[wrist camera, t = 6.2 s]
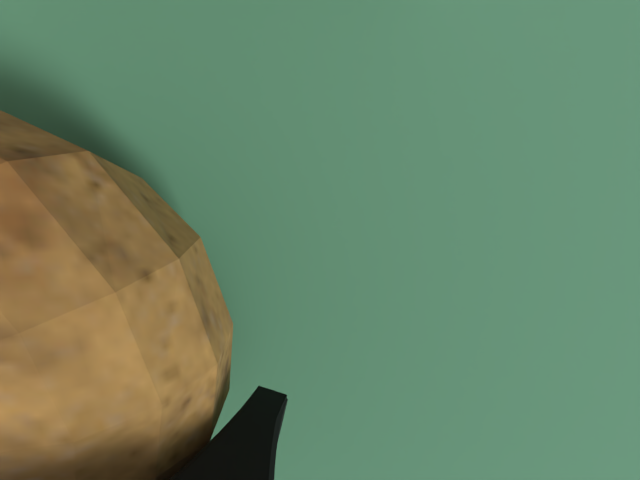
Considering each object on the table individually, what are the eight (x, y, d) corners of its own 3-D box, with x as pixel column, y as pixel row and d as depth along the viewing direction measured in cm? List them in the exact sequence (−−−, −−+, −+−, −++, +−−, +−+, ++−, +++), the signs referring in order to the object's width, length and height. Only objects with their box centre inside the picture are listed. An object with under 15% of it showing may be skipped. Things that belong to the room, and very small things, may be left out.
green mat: (588, 692, 16) (591, 706, 16) (-16, 467, 19) (-24, 475, 19) (1311, -22, 7) (1362, -26, 6) (-144, -269, 9) (-166, -283, 9)
